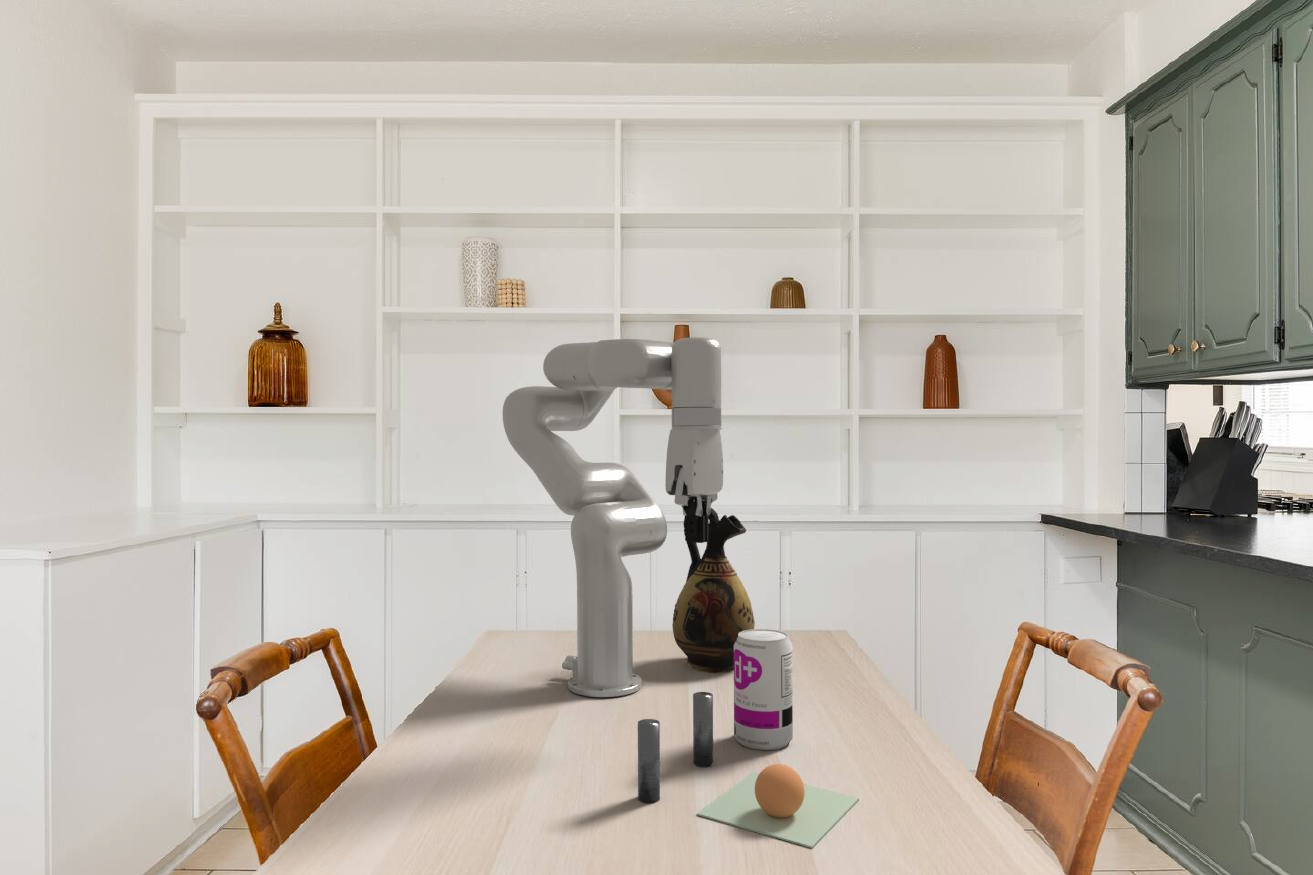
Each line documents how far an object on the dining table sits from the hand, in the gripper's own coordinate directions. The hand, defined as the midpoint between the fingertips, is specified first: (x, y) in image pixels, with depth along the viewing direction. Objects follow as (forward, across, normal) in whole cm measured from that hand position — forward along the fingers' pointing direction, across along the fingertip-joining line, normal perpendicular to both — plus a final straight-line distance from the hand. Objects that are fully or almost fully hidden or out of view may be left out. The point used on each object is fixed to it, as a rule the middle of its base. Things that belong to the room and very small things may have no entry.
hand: (696, 541), depth 126 cm
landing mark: (+27, +20, +23) cm, 41 cm away
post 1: (+27, +26, +9) cm, 39 cm away
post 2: (+27, +14, +9) cm, 32 cm away
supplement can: (+27, +2, +12) cm, 30 cm away
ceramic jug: (+27, -28, -14) cm, 42 cm away
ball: (+24, +22, +24) cm, 41 cm away
